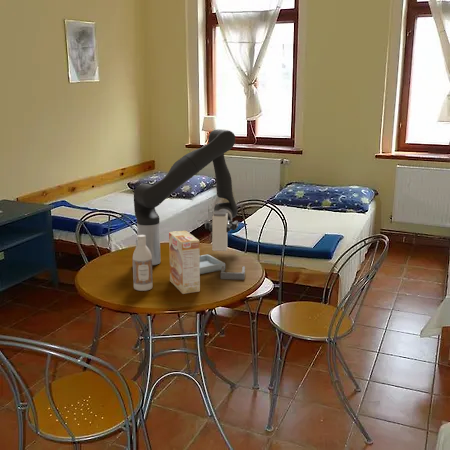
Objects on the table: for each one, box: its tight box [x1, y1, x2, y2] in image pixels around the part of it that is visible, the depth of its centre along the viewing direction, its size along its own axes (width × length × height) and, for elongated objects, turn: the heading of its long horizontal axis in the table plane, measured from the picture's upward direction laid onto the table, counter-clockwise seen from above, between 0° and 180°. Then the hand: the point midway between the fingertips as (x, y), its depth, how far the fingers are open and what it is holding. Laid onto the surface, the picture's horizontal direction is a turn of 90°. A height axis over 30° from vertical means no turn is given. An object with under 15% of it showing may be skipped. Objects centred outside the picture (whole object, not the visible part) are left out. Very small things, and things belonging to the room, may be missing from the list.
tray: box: [200, 254, 226, 275], centre depth 224 cm, size 14×14×3 cm
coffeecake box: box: [168, 230, 201, 295], centre depth 201 cm, size 15×7×20 cm, turn 23°
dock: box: [220, 265, 246, 281], centre depth 215 cm, size 8×9×2 cm
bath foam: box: [132, 235, 154, 292], centre depth 199 cm, size 7×7×20 cm
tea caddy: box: [211, 211, 228, 252], centre depth 217 cm, size 6×6×15 cm
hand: (219, 229), depth 215 cm, fingers closed on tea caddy, 5 cm apart
